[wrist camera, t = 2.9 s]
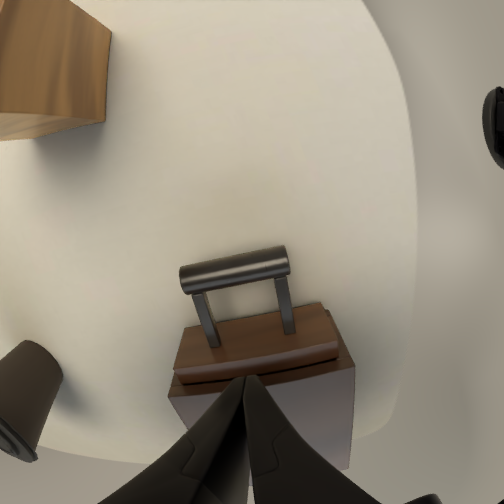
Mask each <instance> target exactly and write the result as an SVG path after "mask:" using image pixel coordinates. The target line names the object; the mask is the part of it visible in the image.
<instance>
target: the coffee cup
mask: <svg viewBox="0 0 504 504" xmlns="http://www.w3.org/2000/svg"><path fill="white" fill-rule="evenodd" d="M62 380H63V374H62V371H61V368H60V367H59V365H58V363H57V362H56V360H55V359H54V358H53V357H52V355H51V354H50V353H49V352H47V351H46V350H45V349H44V348H43V347H41V346H40V345H38V344H37V343H34V342H32V341H26V340H25V341H23V342H21V343H20V344H19V345H18V346H16V347H15V348H14V349H13V350H12V351H11V352H9V353H8V354H7V355H6V356H5V357H4V358H2V359H1V360H0V449H1V450H2V451H4V452H6V453H7V454H9V455H11V456H14V457H16V458H18V459H20V460H23V461H25V462H29V463H31V462H32V461H35V460H37V459H38V457H37V454H36V452H35V450H36V447H37V444H38V441H39V438H40V435H41V432H42V430H43V427H44V424H45V422H46V419H47V416H48V414H49V411H50V409H51V406H52V404H53V401H54V399H55V397H56V394H57V392H58V390H59V387H60V385H61V383H62Z"/></svg>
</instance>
